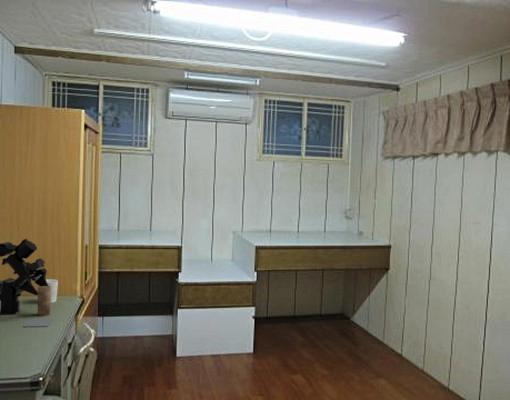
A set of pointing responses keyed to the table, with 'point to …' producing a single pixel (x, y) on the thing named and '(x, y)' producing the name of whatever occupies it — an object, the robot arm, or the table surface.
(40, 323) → the slate mat
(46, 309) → the walnut cylinder
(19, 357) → the table surface
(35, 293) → the robot arm
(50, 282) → the white cup
